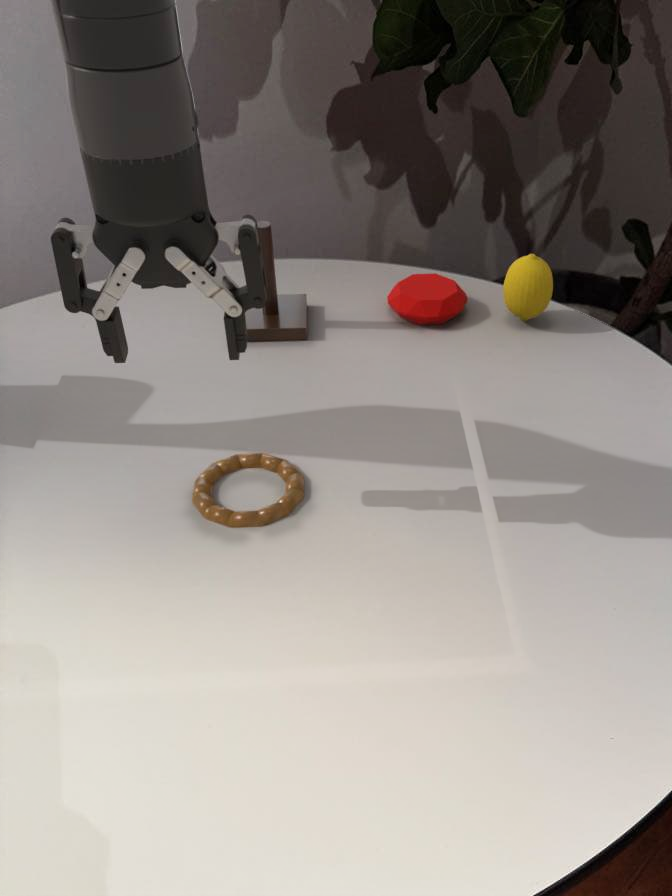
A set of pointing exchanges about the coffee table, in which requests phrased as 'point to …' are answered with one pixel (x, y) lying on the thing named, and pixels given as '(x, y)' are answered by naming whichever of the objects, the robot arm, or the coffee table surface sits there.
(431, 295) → the gemstone
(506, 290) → the lemon
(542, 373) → the coffee table surface
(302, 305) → the peg stand
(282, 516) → the ring
